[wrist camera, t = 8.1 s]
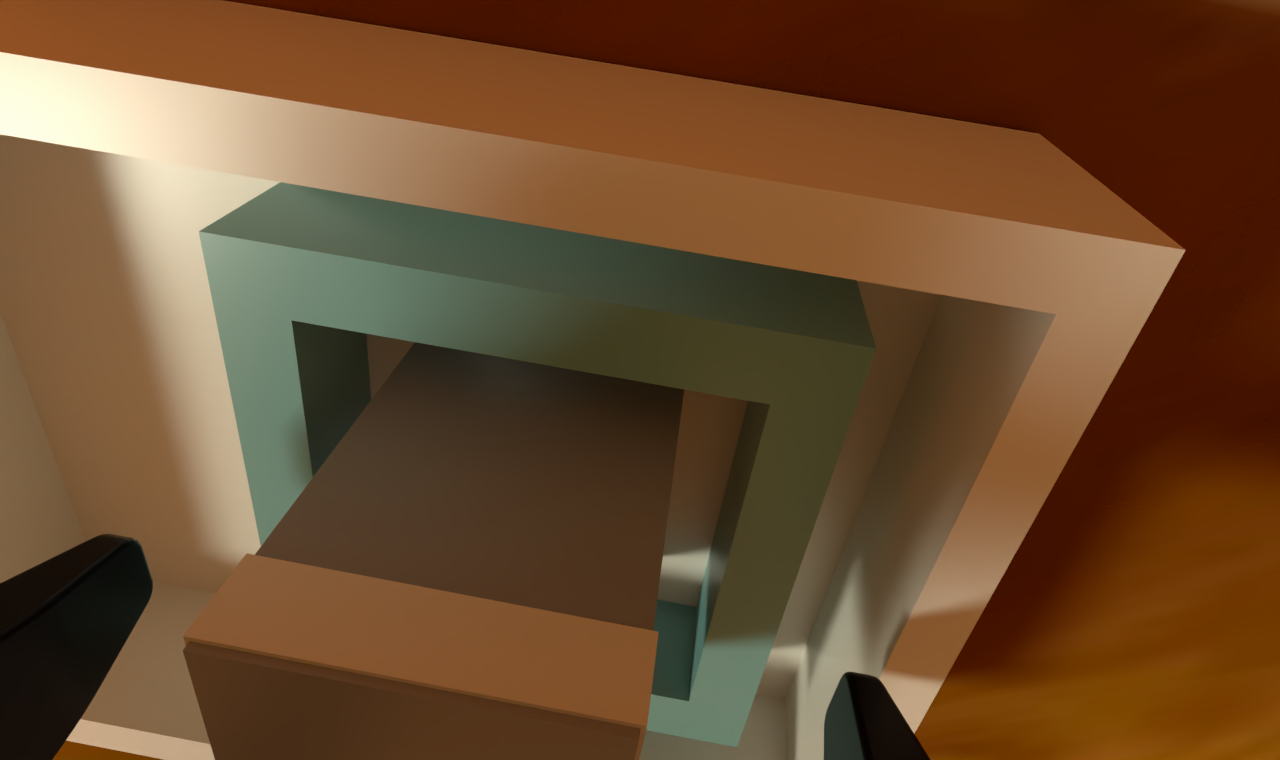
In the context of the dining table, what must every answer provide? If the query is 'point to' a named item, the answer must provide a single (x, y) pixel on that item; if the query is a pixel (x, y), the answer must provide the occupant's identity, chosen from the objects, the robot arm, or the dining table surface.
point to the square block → (455, 577)
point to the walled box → (543, 327)
